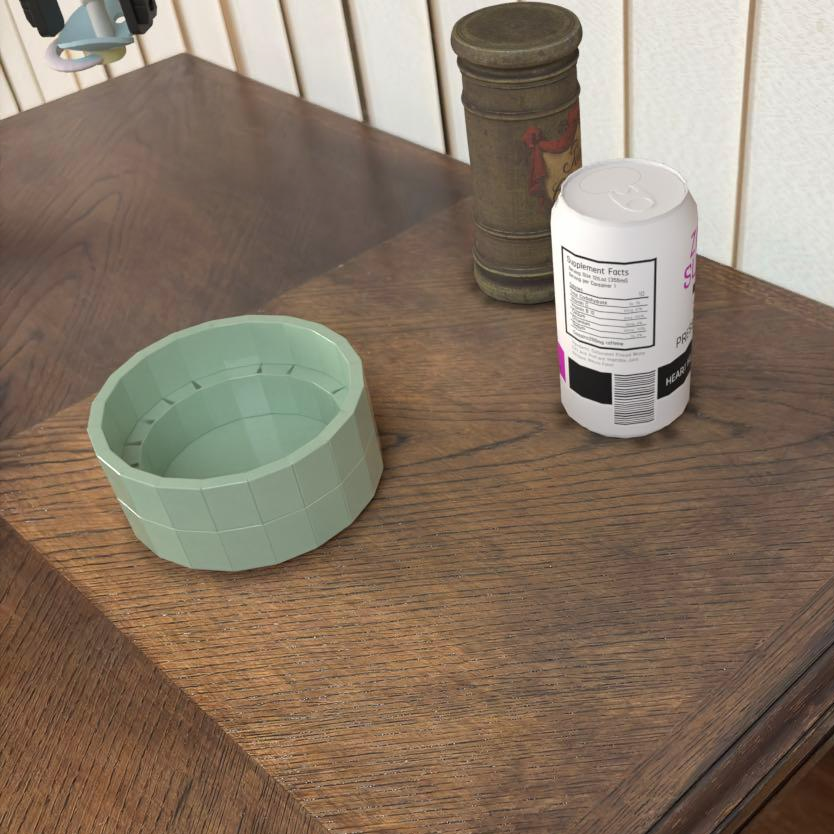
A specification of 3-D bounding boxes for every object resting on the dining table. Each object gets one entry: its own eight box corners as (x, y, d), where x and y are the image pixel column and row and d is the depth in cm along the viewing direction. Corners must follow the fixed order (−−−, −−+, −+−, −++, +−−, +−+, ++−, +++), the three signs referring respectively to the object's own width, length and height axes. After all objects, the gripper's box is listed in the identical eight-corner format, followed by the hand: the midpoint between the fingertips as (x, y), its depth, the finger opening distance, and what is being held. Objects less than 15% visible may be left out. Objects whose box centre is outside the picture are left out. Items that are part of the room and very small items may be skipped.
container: (465, 304, 78) (431, 54, 65) (486, 239, 84) (459, -2, 71) (587, 307, 77) (578, 53, 64) (599, 241, 83) (593, -4, 70)
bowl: (88, 568, 62) (39, 481, 57) (184, 398, 72) (151, 311, 67) (347, 584, 60) (321, 495, 55) (408, 406, 70) (390, 317, 65)
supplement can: (539, 390, 71) (523, 179, 60) (646, 350, 73) (649, 139, 62) (600, 461, 65) (594, 244, 55) (713, 415, 68) (729, 198, 57)
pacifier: (40, 88, 65) (138, 73, 66) (-7, -21, 61) (99, -37, 61) (58, 41, 70) (149, 27, 71) (16, -63, 66) (113, -77, 66)
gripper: (135, -333, 56) (226, 5, 68) (-113, -315, 58) (19, 11, 70) (76, -306, 51) (185, 54, 63) (-194, -287, 53) (-37, 59, 65)
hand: (97, 30), depth 67 cm, fingers closed on pacifier, 5 cm apart
